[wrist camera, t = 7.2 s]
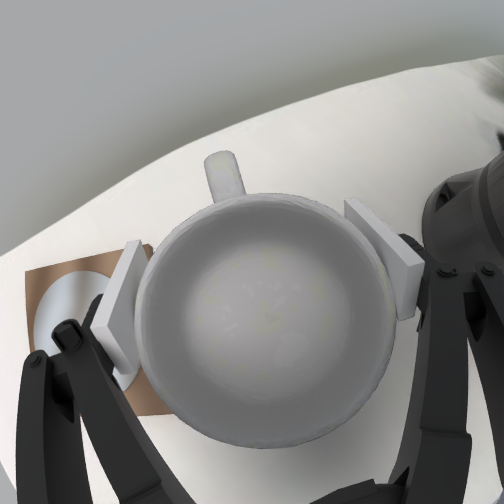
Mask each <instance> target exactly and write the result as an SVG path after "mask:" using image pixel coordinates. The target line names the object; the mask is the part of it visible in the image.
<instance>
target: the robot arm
mask: <svg viewBox="0 0 504 504" xmlns="http://www.w3.org/2000/svg"><path fill="white" fill-rule="evenodd" d="M344 210H345V218H346V219H347V220H349V221H350V222H351V223H353V224H354V225H355V226H356V227H357V228H358V229H359V230H360V231H361V232H362V233H363V234H364V236H365V237H366V238H367V239H368V241H369V242H370V244H372V245H373V247H374V249H375V251H376V253H377V255H378V256H379V257H380V260H381V263H382V264H383V265H384V266H385V267H386V271H387V274H388V276H389V279H390V282H391V286H392V290H393V294H394V301H395V306H396V318H397V319H398V321H402V320H405V319H408V318H411V317H414V315H415V311H416V306H417V307H418V308H419V309H420V311H421V316H420V320H419V323H418V327H417V331H416V332H419V334H418V345H417V354H416V363H415V370H414V378H413V384H412V391H411V397H410V402H409V408H408V413H407V418H406V423H405V428H404V432H403V437H402V441H401V445H400V449H399V453H398V457H397V461H396V463H395V466H394V468H393V471H392V473H391V475H390V478H389V481H388V484H375V482H374V479H370V480H367V481H364V482H361V483H358V484H354V485H351V486H348V487H344V488H341V489H338V490H336V491H334V492H332V493H330V494H328V495H326V496H324V497H322V498H320V499H318V500H316V501H314V502H312V503H309V504H463V499H464V494H465V489H466V484H467V478H468V472H469V465H470V458H471V450H472V437H471V434H468V433H467V431H466V421H467V406H468V344H467V337H468V340H469V343H470V347H471V350H472V353H473V356H474V359H475V363H476V366H477V370H478V373H479V377H480V380H481V384H482V388H483V392H484V396H485V400H486V405H487V409H488V414H489V419H490V424H491V429H492V435H493V441H494V447H495V454H496V461H497V467H498V473H499V477H500V481H501V484H502V487H503V491H502V493H501V496H500V499H499V500H498V502H497V504H504V150H503V151H502V152H501V153H500V154H499V155H498V156H497V157H495V158H494V159H493V160H492V161H491V162H490V163H489V164H488V165H487V166H485V167H483V168H480V169H476V170H472V171H469V172H465V173H461V174H458V175H454V176H452V177H450V178H448V179H447V180H445V181H444V182H443V183H442V184H441V185H440V186H439V187H437V188H436V189H435V190H434V191H433V193H432V194H431V195H430V197H429V199H428V201H427V203H426V206H425V209H424V214H423V225H422V228H423V239H424V245H425V249H426V250H425V249H424V248H423V247H422V246H421V245H419V243H418V242H417V241H416V240H415V239H414V238H412V237H410V236H408V235H406V234H399V235H397V234H396V233H395V232H394V231H393V230H392V229H391V228H390V227H389V226H388V225H387V224H386V223H385V222H384V221H383V220H382V219H380V218H379V217H378V216H377V215H376V214H375V213H374V212H373V211H372V210H371V209H369V208H368V207H367V206H366V205H365V204H364V203H363V202H362V201H361V200H359V199H358V198H351V199H345V200H344ZM147 264H148V259H147V256H146V254H145V251H144V248H143V245H142V243H141V240H135V241H131V242H127V244H126V246H125V249H124V251H123V253H122V255H121V257H120V259H119V261H118V263H117V265H116V268H115V270H114V272H113V274H112V276H111V279H110V281H109V283H108V285H107V288H106V290H105V292H104V293H103V294H98V295H97V296H96V298H95V299H94V300H93V301H92V302H91V304H90V307H89V309H88V310H89V311H87V314H86V317H85V318H84V321H83V323H82V325H81V326H80V324H79V323H78V321H77V320H76V319H67V320H64V321H62V322H61V323H59V324H58V325H57V326H56V327H55V328H54V329H53V331H52V333H51V338H52V340H53V341H54V343H55V344H56V346H57V347H58V348H59V350H60V351H61V353H58V354H55V355H53V356H50V357H49V356H48V354H47V353H46V352H45V351H44V350H41V349H40V350H36V351H34V352H32V353H30V354H29V355H28V357H27V358H26V360H25V362H24V365H23V371H22V377H21V385H20V393H19V402H18V413H17V428H16V487H17V501H18V504H93V501H92V496H91V491H90V486H89V481H88V475H87V469H86V463H85V456H84V449H83V441H82V432H81V422H80V414H81V417H82V420H83V422H84V425H85V428H86V430H87V433H88V435H89V438H90V440H91V443H92V445H93V447H94V450H95V452H96V454H97V456H98V459H99V461H100V463H101V465H102V467H103V469H104V472H105V474H106V476H107V478H108V480H109V482H110V484H111V486H112V488H113V489H114V491H115V493H116V495H117V497H118V499H119V503H120V504H196V503H195V502H194V500H193V499H192V498H191V497H190V495H189V494H188V493H187V492H186V490H185V489H184V488H183V486H182V485H181V484H180V482H179V481H178V479H177V478H176V477H175V475H174V474H173V472H172V471H171V470H170V468H169V467H168V465H167V464H166V462H165V461H164V460H163V458H162V457H161V455H160V454H159V452H158V450H157V449H156V447H155V446H154V444H153V443H152V441H151V440H150V438H149V436H148V435H147V433H146V431H145V430H144V428H143V427H142V425H141V423H140V421H139V420H138V418H137V416H136V415H135V413H134V411H133V409H132V408H131V406H130V404H129V402H128V400H127V398H126V397H125V395H124V393H123V391H122V389H121V387H120V385H119V383H118V381H117V379H116V378H115V377H114V375H113V370H114V366H115V368H116V369H117V371H118V372H119V373H120V375H125V374H137V368H138V363H139V354H138V350H137V344H136V338H135V331H134V313H135V303H136V296H137V292H138V288H139V284H140V281H141V278H142V276H143V273H144V271H145V269H146V266H147Z"/></svg>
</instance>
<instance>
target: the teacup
mask: <svg viewBox="0 0 504 504" xmlns="http://www.w3.org/2000/svg"><path fill="white" fill-rule="evenodd" d="M204 167H205V172H206V176H207V181H208V184H209V188H210V191H211V194H212V198H213V201H214V204H212V205H210V206H208V207H206V208H204V209H202V210H200V211H199V212H197V213H196V214H194V215H193V216H191V217H190V218H188V219H187V220H185V221H184V222H182V223H181V224H180V225H179V226H177V227H176V228H175V229H174V230H173V231H172V232H171V233H170V234H169V235H168V236H167V237H166V238H165V239H164V240H163V242H162V243H161V244H160V245H159V247H158V248H157V250H156V251H155V253H154V254H153V256H152V257H151V259H150V261H149V262H148V264H147V266H146V269H145V271H144V273H143V276H142V278H141V281H140V284H139V288H138V292H137V296H136V303H135V313H134V331H135V338H136V344H137V350H138V354H139V359H140V363H141V366H142V368H143V370H144V372H145V374H146V376H147V378H148V380H149V382H150V384H151V386H152V388H153V389H154V391H155V392H156V394H157V395H158V396H159V397H160V399H161V400H162V401H163V402H164V403H165V405H166V406H167V407H168V408H169V409H170V410H171V411H172V412H173V413H174V414H175V415H176V416H177V417H178V418H179V419H180V420H182V421H183V422H185V423H186V424H187V425H189V426H190V427H192V428H193V429H195V430H197V431H198V432H200V433H202V434H204V435H206V436H208V437H209V438H212V439H215V440H218V441H221V442H224V443H228V444H231V445H235V446H240V447H249V448H257V449H271V448H284V447H292V446H297V445H299V444H302V443H305V442H308V441H311V440H314V439H316V438H319V437H321V436H323V435H325V434H327V433H329V432H331V431H332V430H334V429H336V428H337V427H339V426H340V425H342V424H343V423H344V422H346V421H347V420H349V419H350V418H351V417H352V416H353V415H354V414H355V413H356V412H357V411H358V410H359V409H360V408H361V407H362V406H363V405H364V404H365V402H366V401H367V400H368V399H369V398H370V397H371V395H372V393H373V392H374V390H375V389H376V388H377V386H378V383H379V382H380V380H381V378H382V377H383V375H384V373H385V370H386V368H387V365H388V363H389V360H390V357H391V353H392V349H393V345H394V340H395V330H396V306H395V301H394V294H393V290H392V286H391V282H390V279H389V276H388V274H387V271H386V267H385V266H384V265H383V264H382V263H381V260H380V257H379V256H378V255H377V253H376V251H375V249H374V247H373V245H372V244H370V242H369V241H368V239H367V238H366V237H365V236H364V234H363V233H362V232H361V231H360V230H359V229H358V228H357V227H356V226H355V225H354V224H353V223H351V222H350V221H349V220H347V219H346V218H344V217H343V216H341V215H340V214H339V213H337V212H336V211H334V210H333V209H331V208H329V207H327V206H325V205H323V204H321V203H319V202H316V201H313V200H310V199H307V198H304V197H301V196H295V195H289V194H278V193H259V194H248V195H246V191H245V188H244V185H243V181H242V178H241V174H240V171H239V167H238V164H237V161H236V158H235V155H234V154H233V153H232V152H230V151H219V152H216V153H213V154H211V155H210V156H208V157H207V158H206V159H205V161H204Z"/></svg>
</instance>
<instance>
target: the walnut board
mask: <svg viewBox="0 0 504 504" xmlns="http://www.w3.org/2000/svg"><path fill="white" fill-rule="evenodd" d="M143 248H144V251H145V254H146V256H147V259H148V262H149V261H150V259H151V257H152V256H153V251H152V247H151V246H150V245H149V244H145V245H143ZM123 251H124V249H121V250H117V251H112V252H107V253H103V254H98V255H94V256H89V257H85V258H81V259H76V260H72V261H68V262H63V263H59V264H55V265H50V266H46V267H42V268H38V269H34V270H30V271H25V294H26V313H27V326H28V337H29V346H30V353H32V352H34V351H36V350H40V349H41V350H44V351H45V352H46V353H47V354H48V356H49V357H50V356H53V355H55V354H58V353H61V351H60V350H59V348H58V347H57V346H56V344H55V343H54V341H53V340H52V338H51V333H52V331H53V329H54V328H55V327H56V326H57V325H58V324H59V323H61V322H62V321H64V320H67V319H76V320H77V321H78V323H79V324H80V326H81V325H82V323H83V321H84V318H85V317H86V314H87V311H89V310H88V309H89V307H90V304H91V302H92V301H93V300H94V299H95V298H96V296H97V295H98V294H103V293H104V292H105V290H106V288H107V285H108V283H109V281H110V279H111V276H112V274H113V272H114V270H115V268H116V265H117V263H118V261H119V259H120V257H121V255H122V253H123ZM113 375H114V377H115V378H116V379H117V381H118V383H119V385H120V387H121V389H122V391H123V393H124V395H125V397H126V398H127V400H128V402H129V404H130V406H131V408H132V409H133V411H134V413H135V415H136V416H150V415H166V414H174V413H173V412H172V411H171V410H170V409H169V408H168V407H167V406H166V405H165V403H164V402H163V401H162V400H161V399H160V397H159V396H158V395H157V394H156V392H155V391H154V389H153V388H152V386H151V384H150V382H149V380H148V378H147V376H146V374H145V372H144V370H143V368H142V366H141V363H140V359H139V363H138V368H137V374H125V375H120V373H119V372H118V371H117V369H116V368H115V366H114V370H113ZM80 416H81V414H80Z"/></svg>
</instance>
